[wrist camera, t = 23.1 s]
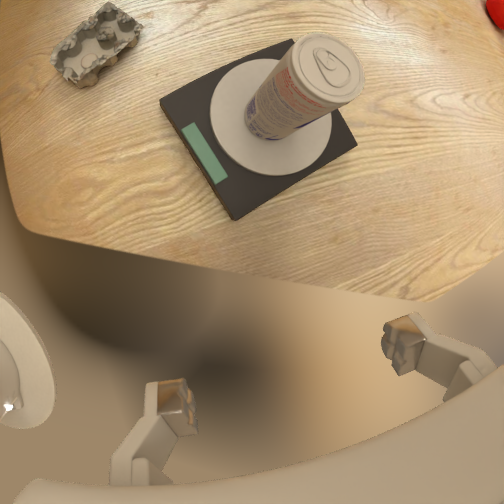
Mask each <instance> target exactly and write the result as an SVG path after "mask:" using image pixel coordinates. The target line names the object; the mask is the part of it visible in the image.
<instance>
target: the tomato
mask: <svg viewBox="0 0 504 504" xmlns="http://www.w3.org/2000/svg"><path fill="white" fill-rule="evenodd" d="M486 7H487V10H488V13H489V15H490V17H491V18H492V20H493V21H494V22H495V24H496V25H497V26H498V27H499V28H501V29H502V30H504V0H487V1H486Z"/></svg>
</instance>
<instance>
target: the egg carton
mask: <svg viewBox="0 0 504 504" xmlns="http://www.w3.org/2000/svg"><path fill="white" fill-rule="evenodd" d="M141 28H143V26H142V25H141V24H139V23H137V22H136V21H135V20H134V19H133V18H132V17H130V16H129V15H127V14H126V13H125V12H123V11H122V10H121V9H120V8H117V7H116V6H115V5H113V4H112V3H110V2H107V3H105V4H104V5H103V6H102V7H101V8H100V9H99V10H98V11H97V12H96V13H95V14H94V15H93V16H90V17H89V19H88V20H87V21H83V22H82V23H81V24H80V25H79V26H78V27H77V28H76V29H75V30H74V31H73V32H72V33H71V34H70V35H69V36H68V37H66V38H65V39H64V40H63V41H61V42H60V43H59V44H57V46H56V47H55V48H54V49H53V52H52V55H51V58H50V64H51V65H54V67H55V68H56V69H57V70H58V71H59V72H60V73H61V74H62V76H63V77H64V78H65V79H66V80H67V81H68V80H69V79H70V80H71V81H73V82H74V83H75V84H76V86H77V87H78V88H80V89H81V88H83V87H84V86H89V85H90V86H93V85H95V84H96V83H97V82H98V77H97V73H98V72H99V70H100V69H101V68H102V67H105V66H113V65H114V64H115V63H116V62H117V61H118V58H117V53H119V52H120V51H121V50H122V49H123V48H125V47H130V48H133V47H134V46H135V45H136V44H137V40H136V36H138V35H139V34H140V30H141Z"/></svg>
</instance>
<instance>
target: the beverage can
mask: <svg viewBox="0 0 504 504" xmlns="http://www.w3.org/2000/svg"><path fill="white" fill-rule="evenodd" d="M364 84H365V74H364V69H363V65H362V63H361V61H360V59H359V57H358V56H357V54H356V53H355V52H354V50H353V49H352V48H351V47H350V46H349V45H348V44H346V43H345V42H344V41H342V40H341V39H339V38H337V37H335V36H333V35H331V34H327V33H323V32H312V33H307V34H305V35H303V36H301V37H300V38H299V39H298V40H297V41H296V42H295V43H294V44H293V45H292V46H291V48H290V49H289V50H288V51H287V52H286V54H285V55H284V56H283V57H282V59H281V60H280V61H279V63H278V64H277V65H276V66H275V68H274V69H273V70H272V71H271V73H270V74H269V75H268V77H267V78H266V79H265V81H264V82H263V83H262V85H261V86H260V87H259V88H258V90H257V91H256V93H255V94H254V95H253V97H252V98H251V99H250V101H249V102H248V104H247V105H246V108H245V121H246V124H247V126H248V128H249V129H250V130H251V132H252V133H253V134H255V135H256V136H257V137H259V138H261V139H264V140H268V141H277V140H280V139H283V138H285V137H286V136H288V135H290V134H292V133H293V132H295V131H297V130H299V129H300V128H302V127H304V126H306V125H308V124H310V123H311V122H313V121H315V120H317V119H319V118H321V117H323V116H324V115H326V114H328V113H330V112H332V111H334V110H336V109H338V108H340V107H342V106H344V105H346V104H347V103H349V102H350V101H352V100H354V99H355V98H357V97H358V96H359V95H360V93H361V92H362V90H363V88H364Z"/></svg>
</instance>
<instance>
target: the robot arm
mask: <svg viewBox="0 0 504 504" xmlns="http://www.w3.org/2000/svg"><path fill="white" fill-rule="evenodd" d="M383 331H384V332H385V334H384V335H383V337H382V340H381V346H382V350H383V352H384V354H385V356H386V358H388V359H390V360H392V367H393V368H394V370H395V371H396V373H397V374H398V376H401V375H403V374H406V373H408V372H411V371H413V370H415V369H416V371H417V372H419V373H421V374H423V375H424V376H426V377H428V378H430V379H432V380H434V381H435V382H437V383H439V384H440V385H442V386H444V387H446V388H448V389H447V391H446V393H445V395H444V397H443V401H444V403H443V404H441V405H439V406H437V407H435V408H434V409H432V410H430V411H428V412H426V413H424V414H422V415H420V416H418V417H416V418H414V419H412V420H410V421H408V422H406V423H404V424H402V425H400V426H398V427H395V428H393V429H391V430H389V431H387V432H384V433H382V434H379V435H377V436H375V437H372V438H370V439H367V440H365V441H362V442H360V443H357V444H354V445H352V446H349V447H346V448H344V449H341V450H338V451H335V452H332V453H329V454H326V455H323V456H320V457H316V458H313V459H310V460H306V461H303V462H299V463H296V464H292V465H288V466H285V467H280V468H276V469H272V470H267V471H263V472H258V473H253V474H248V475H243V476H237V477H232V478H225V479H219V480H211V481H203V482H195V483H184V484H173V481H172V480H171V479H170V478H169V477H167V476H166V475H165V474H164V473H163V472H162V469H163V467H164V466H165V464H166V461H167V460H168V458H169V456H170V454H171V452H172V450H173V448H174V446H175V444H176V442H177V440H178V437H183V436H189V435H195V434H198V423H197V419H196V417H195V416H194V414H195V413H196V403H195V399H194V396H193V393H192V391H191V389H188V388H187V382H186V380H185V378H180V379H172V380H166V381H159V382H151V383H147V385H146V387H145V401H144V417H141V418H140V419H139V420H138V421H137V423H136V424H135V425H134V427H133V428H132V429H131V431H130V432H129V434H128V435H127V436H126V437H125V439H124V440H123V442H122V443H121V445H120V446H119V447H118V448H117V450H116V451H115V452H114V454H113V455H112V456H111V458H110V472H109V485H92V484H80V483H71V482H62V481H55V480H48V479H41V478H37V479H34V480H33V481H31V482H30V483H29V484H28V485H27V486H26V487H25V488H24V489H23V490H22V491H21V493H19V495H18V496H17V497H16V498H15V500H14V502H13V504H504V364H503V365H501V366H500V367H499V368H498V367H497V366H496V365H495V363H494V362H493V361H492V360H491V359H490V358H489V356H488V355H487V354H486V353H485V352H484V351H483V350H482V349H480V348H477V347H474V346H471V345H469V344H466V343H463V342H461V341H458V340H455V339H453V338H450V337H447V336H444V335H442V334H438V335H437V334H436V333H435V332H434V331H433V330H432V328H431V327H430V326H429V325H428V324H427V323H426V322H425V320H424V319H423V318H422V317H421V316H420V315H419V314H418V313H417V312H413V313H410V314H408V315H405V316H402V317H400V318H397V319H395V320H392V321H389V322H387V323H385V325H384V327H383ZM19 386H20V379H19V373H18V369H17V366H16V364H15V361H14V359H13V357H12V355H11V354H10V352H9V350H8V349H7V347H6V346H5V345H4V343H3V342H2V341H1V340H0V421H1V420H2V418H3V417H4V415H5V414H6V413H8V412H12V411H16V410H20V409H21V408H22V407H23V405H24V403H23V400H22V397H21V394H20V391H19Z"/></svg>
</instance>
